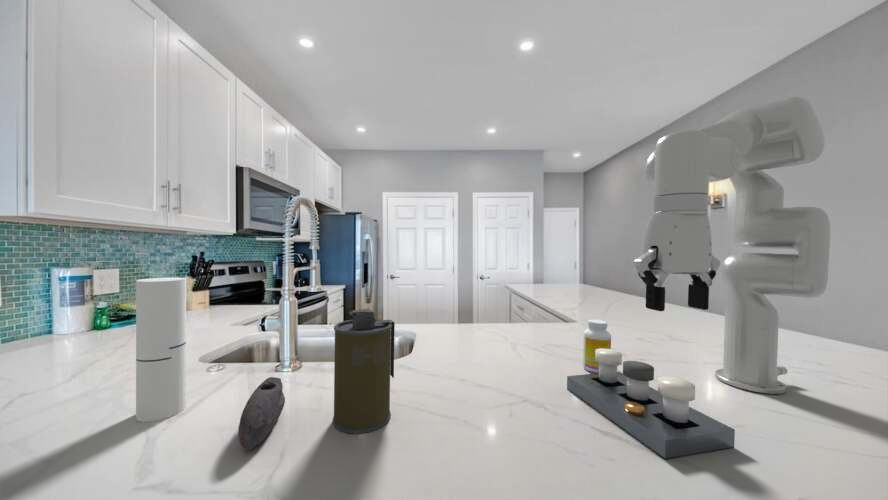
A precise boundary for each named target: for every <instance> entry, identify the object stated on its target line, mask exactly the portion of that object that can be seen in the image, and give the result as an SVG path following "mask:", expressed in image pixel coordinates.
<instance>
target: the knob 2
mask: <svg viewBox="0 0 888 500" xmlns="http://www.w3.org/2000/svg"><path fill="white" fill-rule="evenodd" d="M657 391H658V392H659V393H660V394H662V395H663V416H664V417H666V418H667V419H669V420H672V421H675V422H680V423H686V422H688V411H689V407H690V406H689V404H690V402H692V401H694V400H695V399H696V385H695V384H694V383H693V382H691V381H689V380H686V379H683V378H679V377H674V376H668V375H667V376H666V375H664V376H659V377H658V378H657Z"/></svg>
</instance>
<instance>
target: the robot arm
mask: <svg viewBox="0 0 888 500" xmlns="http://www.w3.org/2000/svg"><path fill="white" fill-rule="evenodd" d="M824 148H825V136H824V133H823V130H822V127H821V124H820V122H819V119H818V116H817V114H816V111H815V110H814V108H813V106H812V105H811V103H810V102H809V101H808V100H807V99H804V98H803V97H800V96H786V97H785V98H780V99H776V100H772V101H768V102H764V103H760V104H757V105H756V104H755V105H752V106H748V107H745V108H741V109H737V110H735V111H733V112H731V113H729V114H728V115H726V116H725V117H723V118H722V119H721V120H719V121H717V122H716V123H714V124H711V125H708V126H706V127H704V128H701V129H698V130H694V129H693V130H692V129H691V130H690V129H689V130H681V131H676V132H675V131H674V132H672V133H669V134H666V135H664V136H663V137H661V138H659V139H658V141H656V145H655V150H653V152H652V153H651V154H650V155H649V157H648V158H647V160H646V163H645V169H644V170H645V176H646V179H647V181H648V182H649V184H651V185H652V186H653V188H654V189H653V190H654V191H653V215H650V216H649V218H648V222H647V226H646V230H645V234H644V241H643V243H644V244H643V250H642V254H641V255H640V256H639V257H637V258H635V260H633V264H634V267H635V269H636V271H637V275H638V276H639V278H640V279H641V280H642V284H643V285H644V286H645V308H646V309H648V310H651V311H652V310H653V311H658V312H664V311H665V308H666V288H665V287H664V286H663V284H664V283H665V281H666V280H667V278H668V276H669V275H687V277H688V278H689V280H690V282H691V283H688V288H687V289H688V293H687V306H688V307H689V308H693V309H698V310H699V309H700V310H704V311H705V310H708V309H709V306H710V304H709V302H710V298H709V297H710V287H711V286H712V285H713V280H714V278H715V277H716V275H717V271H718V270H719V267H720V265H721V271H720V272H721V277H722V278H721V279H722V282H723V290H724V328H723V329H724V332H723V335H724V337H723V360H722V361H723V363H722V364H723V367H722V368H719V369H716V370H715V371H714V376H715V378H716V379H717V380H719V381H721V383H724V384H727V385H729V386H732V387H734V388H735V387H736V388H738V389H742V390H746V391H750V392H755V393H760V394H768V395H780V394H784V393H786V391H787V387H786V384H784V383H783V382H782V381H780V380H778V377H779V376H781V375H782V376H785V375H787V374H788V373H789V372H788V369H787V368H786V367H785V366H783V365H782V366H779V365H778V352H779V351H778V349H779V347H778V345H779V340H778V339H779V323H780V322H779V321H780V318H779V317H780V316H779V313H778V309H777V308H776V306H774V305H773V303H772V302H771V301H770V300H769V299H768V298H767V297H766V296H765V295H771V296H772V295H774V296H785V297H795V298H806V299H807V298H809V299H810V298H811V299H812V298H817V297H820V296H821V295H823V294H824V293H825V290H826V289H827V287H828V277H829V264H830V263H829V262H830V250H831V249H830V246H831V244H830V243H831V221H830V218H829V216H828V214H827V212H826V211H825V210H823V209H822V208H820V207H816V206H815V207H814V206H796V207H795V206H794V207H793V206H792V207H784V199H785V198H784V197H785V188H784V187H783V185H782V184H781V183H780V182H779V180H777V179H775V178H774V177H773V176H771V175H769V174H768V173H766V172H764V171H763V170H769V169H770V170H771V169H778V168H786V167H792V166H793V167H795V166H802V165H808V164H811V163H812V162H815V161H817V160H818V159H819V158H820V157H821V156H822V154H823V152H824ZM727 179H729V180H730V181H731V184H732V185H733V188H734V190H735V195H736V196H735V208H734V219H733V227H732V228H733V229H732V230H733V233H732V234H733V241H734V242H735V244H736V245H738V246H740V247H743V248H750V249H782V250H783V249H786V250H788V249H789V250H794V251H795V250H796V251H797V253H798V254H795V253H770V252H768V253H767V252H766V253H765V252H740V253H735V254H731V255H729V256H727V257H726V258H725V259H724V260H723V261H722V264H721V261H720V260H719V259H718V258H716V257H715V256H714V255H713V253H712V252H713V251H712V249H713V248H712V247H713V246H712V234H711V232H712V231H711V224H710V218H709V215H708V214H709V213H708V211H709V210H708V209H709V187H710V186H709V183H712V182H719V181H724V180H727ZM656 275H657V276H656Z"/></svg>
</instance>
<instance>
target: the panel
mask: <svg viewBox="0 0 888 500" xmlns="http://www.w3.org/2000/svg"><path fill="white" fill-rule="evenodd" d="M566 389H567V390H568V391H569V392H570V393H571V394H573V395H575V396H576V397H577V398H579V399H580V400H581V401H583V402H584V403H585V404H587V405H588V406H590V407H591V408H592V407H593V408H592V409H594V410H595V409H596V410H595V411H596V412H598V413H599V412H600V413H599V414H601V415H602V414H603V415H602V416H604V417H605V416H606V417H607V418H606V417H605V418H606V419H608V420H609V419H610V420H611V421H610V420H609V421H610V422H612V423H613V422H614V423H613V424H615V425H616V426H617V427H619V428H620V429H621V430H623V431H624V432H626V433H628V434H629V435H630V436H631V437H633V438H634V439H635V440H637V441H638V442H640V444H642V445H644V446H645V447H647V448H648V449H650V451H652V452H654V454H656V455H658V456H659V457H660V458H662V459H663V460H665V461H666V460H671V459H677V458H682V457H688V456H695V455H698V454H706V453H711V452H718V451H723V450H729V449H735V438H736V437H735V434H736V430H735V429H734V428H733V427H731V426H729V425H727V424H725V423H722V422H720V421H719V420H717V419H714V418H713V417H710V416H709V415H707V414H705V413H704V412H701V411H699V410H696V409H695V408H693V407H691V406H689V411H688V422H686V423H680V422H675V421H672V420H669V419H667V418H666V417H664V416H663V395H662V394H660V393H659V392H658V389H655V388H653V387H651V386H649V390H648V400H637V399H633V398H631V397H629V396H628V395H627V377H626V376H625V375H624V374H623V372H621V371H617V382H616V383H608V382H604V381H602V380H600V379H599V373H589V374H577V375H576V374H575V375H567V376H566Z"/></svg>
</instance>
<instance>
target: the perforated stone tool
mask: <svg viewBox="0 0 888 500" xmlns="http://www.w3.org/2000/svg"><path fill="white" fill-rule="evenodd" d="M285 403H286V398H285V394H284V392H283V382H282V380H281V378H280V377H271V376H269V377H267V378H266V379H265V380H264V381H262V382H261V383H260V384H259V385H258V386H257V387H256V388H255V389H254V391H253V392H252V394H251V395H250V396H249V397H248V400H247V402H246V403H245V406H244V408H243V410H242V412H241V416H240V419H239V422H238V423H239V424H238V440H239V444H240V445H241V448H243V449H244V450H247V451H248V450H251V449H253V448H255V447H257V446H258V445H259V444H260V443H262V441H264V439H265V438H266V437H267V436H268V435H269V433H270V432H271V430H272V429H273V427H274V426H275V424H276V422H277V421H278V420H279V418H280V416H281V414H282V411H283V410H284V406H285Z"/></svg>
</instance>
